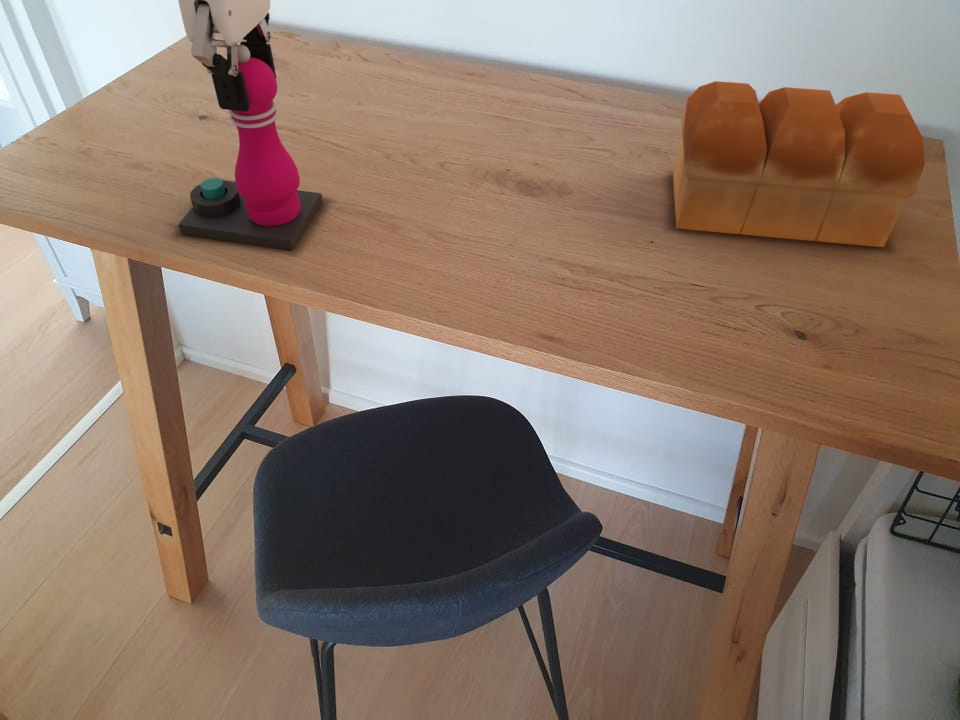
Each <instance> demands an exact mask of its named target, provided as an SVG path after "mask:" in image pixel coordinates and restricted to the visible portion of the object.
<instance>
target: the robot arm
mask: <svg viewBox="0 0 960 720" xmlns="http://www.w3.org/2000/svg"><path fill="white" fill-rule="evenodd" d="M177 2H178V5H179V10H180V14H181V15H180V16H181V19H182V24H183V28H184V32H185V35H186V37H187V39H188V41H189V42H191V48H190V53H191V56H192V58H194V59H196V60H197V61H198V62H199V63H201V65H202V66H203V67H205V68H206V71H207V74H209V75H211V79H212V82H213V87H214V91H215V95H216V100H217V103H218V106H219V108H220V109H222V110H226V111H228V110H234V111H242V112H247V111H248V110H249V109H250V104H249V99H248V94H247V90H246V85H245V80H244V76H243V72H238V52H237V45H238V43H239V45H244V46H246V47H247V48H248V49H249V52H250V57H252V58H256V59H259V60H261V61H263V62H264V63H266V64H267V65H268V66H269V67H270V68H271V69H272V71H273V73H274V75H275V78H276V79H277V74H276V73H277V72H276V68H275V63H274V56H273V52H272V46H271V44H270V43H271V40H272V34H271V31H270V28H269V21H270V20H271V19H270V18H271V17H270V16H271V14H270V12H269V11H270V9H271V0H177ZM216 34H220V35H222V37H223V39H219V38H216V36H215V35H216ZM241 40H242V41H241ZM217 48H226V57H224V56H223V55H222V54H220V53H218V51H217Z"/></svg>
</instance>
